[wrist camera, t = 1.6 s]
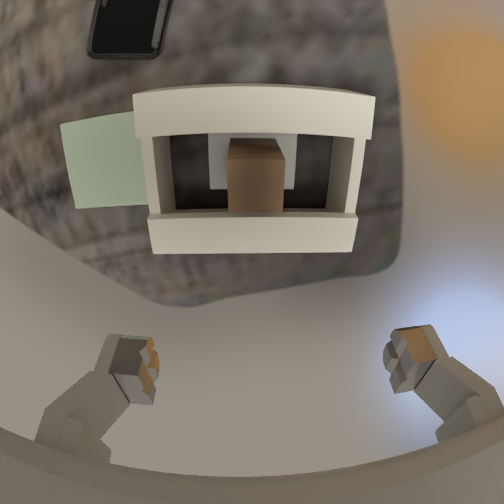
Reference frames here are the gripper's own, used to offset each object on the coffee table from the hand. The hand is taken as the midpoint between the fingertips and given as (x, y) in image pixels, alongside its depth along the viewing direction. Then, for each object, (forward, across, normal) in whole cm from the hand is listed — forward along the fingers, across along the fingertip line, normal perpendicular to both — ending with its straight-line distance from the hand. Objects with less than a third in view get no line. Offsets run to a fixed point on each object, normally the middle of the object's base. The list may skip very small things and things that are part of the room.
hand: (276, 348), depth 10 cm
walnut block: (+21, 0, 0) cm, 21 cm away
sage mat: (+23, +15, 0) cm, 28 cm away
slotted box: (+23, 0, 0) cm, 23 cm away
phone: (+24, +11, -18) cm, 32 cm away
